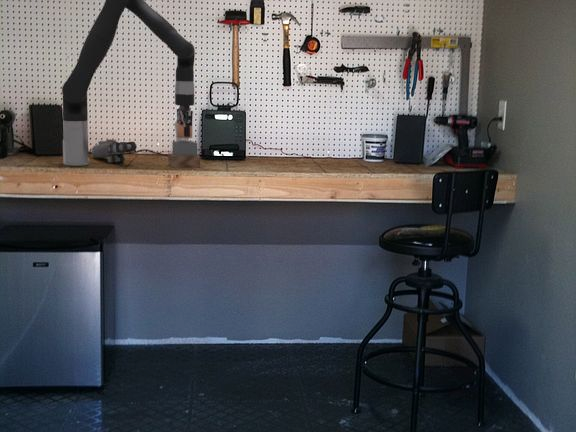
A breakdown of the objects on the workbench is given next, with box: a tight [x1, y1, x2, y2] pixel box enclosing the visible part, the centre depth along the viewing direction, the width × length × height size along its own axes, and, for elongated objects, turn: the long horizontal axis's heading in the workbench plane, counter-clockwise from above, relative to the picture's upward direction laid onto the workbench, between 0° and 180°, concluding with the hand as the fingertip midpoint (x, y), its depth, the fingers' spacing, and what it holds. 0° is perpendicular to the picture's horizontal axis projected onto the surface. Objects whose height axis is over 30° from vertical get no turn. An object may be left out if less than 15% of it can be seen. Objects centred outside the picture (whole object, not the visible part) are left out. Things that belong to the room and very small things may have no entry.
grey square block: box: [171, 140, 198, 156], centre depth 302 cm, size 8×8×5 cm
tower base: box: [167, 152, 201, 169], centre depth 303 cm, size 10×10×5 cm
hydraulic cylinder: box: [91, 138, 138, 164], centre depth 310 cm, size 7×37×10 cm, turn 36°
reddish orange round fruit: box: [177, 124, 193, 139], centre depth 301 cm, size 6×6×5 cm
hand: (184, 135), depth 301 cm, fingers closed on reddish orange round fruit, 6 cm apart
